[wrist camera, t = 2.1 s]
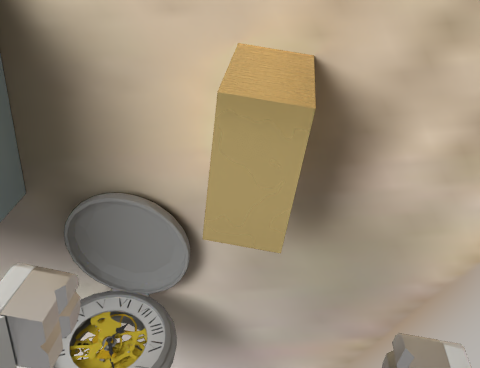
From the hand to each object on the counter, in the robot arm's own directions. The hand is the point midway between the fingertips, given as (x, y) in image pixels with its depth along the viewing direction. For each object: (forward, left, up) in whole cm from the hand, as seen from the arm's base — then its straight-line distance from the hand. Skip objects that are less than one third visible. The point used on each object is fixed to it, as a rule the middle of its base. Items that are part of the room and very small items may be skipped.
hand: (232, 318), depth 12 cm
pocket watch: (+9, -6, -10) cm, 15 cm away
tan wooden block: (-1, 0, -10) cm, 10 cm away
